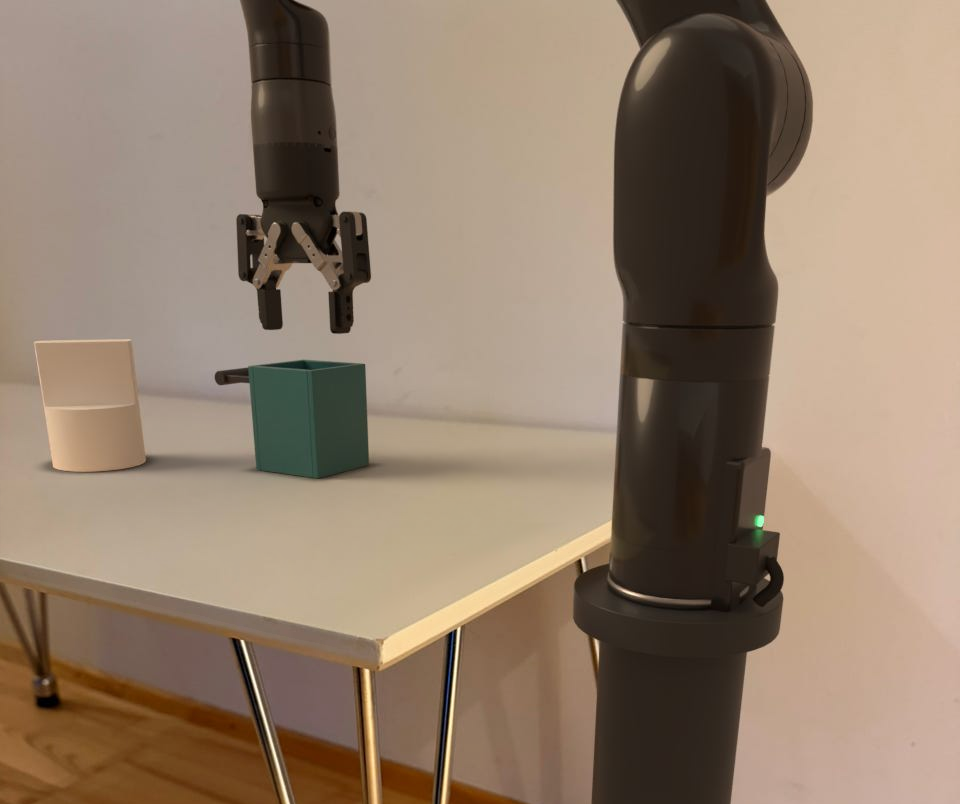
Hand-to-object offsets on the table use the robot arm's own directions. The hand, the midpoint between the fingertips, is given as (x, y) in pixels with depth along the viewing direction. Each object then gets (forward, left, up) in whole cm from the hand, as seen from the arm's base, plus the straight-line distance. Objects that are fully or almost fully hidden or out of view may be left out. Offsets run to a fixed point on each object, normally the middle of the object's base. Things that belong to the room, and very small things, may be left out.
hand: (306, 331), depth 94 cm
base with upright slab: (+20, +10, -13) cm, 26 cm away
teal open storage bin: (-4, 0, -8) cm, 9 cm away
